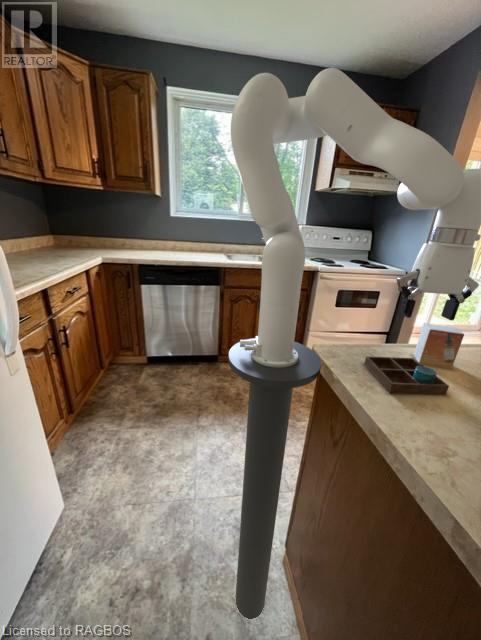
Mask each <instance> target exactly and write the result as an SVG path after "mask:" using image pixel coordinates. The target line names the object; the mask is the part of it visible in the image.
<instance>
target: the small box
mask: <svg viewBox="0 0 481 640" xmlns="http://www.w3.org/2000/svg"><path fill="white" fill-rule="evenodd" d="M464 337H465V334H464V333H463V332H462V331H461V329H459V328H458V327H456V326H449V325H440V324H431V323H428V322H423V324H422V327H421V330H420V334H419V338H418V340H417V344H416V346H415V349H414V353H413V356H414V357H413V358H414V359H415V360H417V361H418V362H419V363H420V364H422V365H425V366H431V367H436V368H441V369H445V370H452V369H453V366H454V364H455V361H456V358H457V356H458V353H459V351H460V347H461V345H462V342H463V340H464Z"/></svg>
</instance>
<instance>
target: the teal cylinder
mask: <svg viewBox="0 0 481 640" xmlns="http://www.w3.org/2000/svg"><path fill="white" fill-rule="evenodd" d="M437 374H438V373H437V371H436V370H435V369H433V368H431V367H428V366H426V365H425V366H424V365H423V366H417V367H416V368H415V371H414V374H413V377H414V378H415V379H416V380H417V381H418V382H419V383H420V384H433V383H434V380H435V377H436V376H437Z"/></svg>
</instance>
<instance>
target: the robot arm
mask: <svg viewBox="0 0 481 640" xmlns="http://www.w3.org/2000/svg"><path fill="white" fill-rule="evenodd" d="M231 113H232V114H231V119H230V141H231V147H232V152H233V156H234V160H235V163H236V167H237V169H238V173H239V177H240V180H241V184H242V187H243V191H244V194H245V197H246V200H247V204H248V207H249V211H250V215H251V218H252V220H253V221H254V223H255V224H256V225H258V226H259V229H260V231H261V234H262V236H263V240H264V243H265V246H264V248H263V251H262V257H261V282H260V283H261V284H260V300H259V301H260V303H259V314H258V317H259V318H258V327H257V335H255V338H256V339H252V341H250V340H247V339H240V340H239V342H240V347H245V350H249V351H250V350H251V357H252V358H253V359H254V360H255V361H256V362H258V363H260V364H262V365H265V366H269V367H276V368H282V367H289V366H292V365H294V364H295V363H296V362H297V361H298V353H297V352H296V350H294V349H293V347H294V342H295V338H296V330H297V322H298V315H299V314H298V313H299V306H300V298H301V289H302V282H303V274H304V269H305V263H306V247H305V243H304V239H303V236H302V233H301V229H300V225H299V222H298V219H297V215H296V211H295V207H294V205H293V199H292V198H291V196H290V194H289V191H287V188H286V186H285V183H284V179H283V176H282V173H281V169H280V165H279V161H278V158H277V154H276V150H275V146H274V144H276V145H277V144H285V143H292V142H301V141H308V140H313V139H319V138H323V137H326V136H328V137H329V138H330V139H331V140H332V141H333V142H334V143H335V144H336V145H338V146H339V147H340V148H341V149H342V151H344V152H345V153H346V154H347V155H348V156H349V157H350V158H351V159H352V160H354V161H355V162H357V163H359V164H362V165H367V166H373V167H376V168H379V169H380V170H383V171H385V172H386V173H388V174H390V175H391V176H393V177H394V178H395V179H396V180H398V181H399V182H400V184H399V186H398V188H397V192H396V197H397V201H398V203H399V204H400V205H401V206H402V207H403V208H405V209H408V210H411V211H421V210H422V211H423V210H437V213H436V216H435V220H434V223H433V225H432V230H431V233H430V237H429V239H428V243H427V242H426V243H425V242H424V243H423V245H422V246H421V248H420V250H419V252H418V254H417V256H416V258H415V260H414V263H413V265H412V268H411V270H410V272H408V273H405V274H403V275H401V276H398V277H397V278H396V283H397V287H398V288H397V289H398V291H399V292H400V294H401V297H403V299H402V302H401V306H400V312H399V314H400V315H402V316H404V317H405V318H408V319H411V318H412V316H413V312H414V309H415V305H416V300H415V299H416V298H417V297H418V296H419V295H420V294H422V293H426V294H440V295H447V296H448V298H449V299H448V298H447V299H446V300H445V303H444V305H443V309H442V311H441V314H440V315H441V317H442V318H445V319H447V320H449V321H454V320H455V319H456V315H457V313H458V310H459V307H460V305H461V304H463V303H465V301H466V299H468V298H469V297H471V296H472V295H473V293H474V292H475V291H476V290H477V288H479V286H480V284H479V283H478V282H477V281H476V280H475V279H473V278H471V276H470V275H471V272H472V268H473V264H474V259H475V252H476V251H475V250H476V248H475V247H474V246H475V242H478V241H480V239H481V234H479V231H480V228H481V168H467V169H463V168H462V166H461V164H460V163H459V161H458V160H457V158H455V157H454V156H453V155H452V154H451V153H450V152H449V151H448V150H447V149H446V148H445V146H443V145H441V143H439V141H437V140H436V139H435V138H433V137H432V136H431V135H429V134H428V133H426V132H424V131H422V130H421V129H418V128H416V127H414V126H411V125H410V124H407V123H405V122H403V121H401V120H398V119H396V118H393V117H392V115H389V114H388V113H387V112H386V111H385V110H384V109H383V108H382V107H381V106H380V105H379V104H378V103H377V102H375V101H374V99H372V98H371V97H370V96H369V95H368V94H367V93H366V92H365V91H364V90H363V89H362V88H361V87H359V85H358V84H357V83H355V82H354V81H353V79H351V77H349V76H348V75H347V74H345V73H344V72H343V71H342V70H340V69H338V68H336V67H328V68H325V69H322V70H321V71H320V72H318V73H317V74H316V75H315V77H314V78H313V79H312V80H311V82H310V84H309V85H308V87H307V90H306V93H305V95H302V96H295V97H289V95H288V92H287V89H286V87H285V85H284V84H283V82H282V81H281V80H280V78H278V77H277V76H276V75H275V74H272V73H270V72H260V73H258V74H256V75H254V76H253V77H251V78H250V80H248V81H247V83H245V85H244V86H243V87H242V89H241V91H240V92H239V95H238V96H237V99H236V101H235V103H234V107H233V110H232V112H231Z"/></svg>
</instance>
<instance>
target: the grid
mask: <svg viewBox="0 0 481 640" xmlns="http://www.w3.org/2000/svg"><path fill="white" fill-rule="evenodd" d="M363 365H364V366H365V368H366V369H367V370H368V371H369V372H370V374H372V375H373V377H374V378H376V380H377V381H378V382H379V383H380V384H381V385H382V386H383V388H384V389H385V390H386V391H387V392H388V393H389V394H394V395H395V394H397V395H399V394H401V395H425V396H426V395H428V396H429V395H432V396H446V395H447V393H448V390H449V388H450V385H449V384H447V382H445V381H444V380H442V379H441V378H440V377H439V376H437V375H436V377H435V380H434V383H433V384H420V383H419V382H418V381H417V380H416V379H415V378H414V377H413V374H414V371H415V368H416V367H417V366H424V364H420V363H419V362H418V361H417V360H416V358H415V357H394V356H393V357H389V356H365V358H364V363H363Z"/></svg>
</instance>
